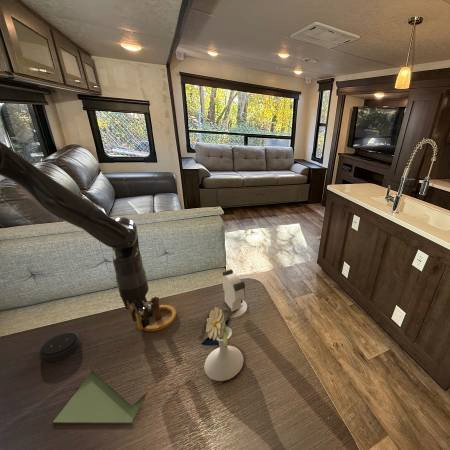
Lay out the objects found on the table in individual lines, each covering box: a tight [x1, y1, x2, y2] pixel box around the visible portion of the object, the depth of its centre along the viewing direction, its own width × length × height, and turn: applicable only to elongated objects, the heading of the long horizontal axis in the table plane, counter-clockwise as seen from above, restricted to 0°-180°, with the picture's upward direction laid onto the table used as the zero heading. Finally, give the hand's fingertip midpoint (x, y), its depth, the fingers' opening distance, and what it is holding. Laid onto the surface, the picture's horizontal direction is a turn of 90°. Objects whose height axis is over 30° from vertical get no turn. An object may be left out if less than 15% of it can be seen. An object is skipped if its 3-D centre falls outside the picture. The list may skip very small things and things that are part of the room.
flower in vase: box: [204, 307, 244, 382], centre depth 70 cm, size 13×11×25 cm
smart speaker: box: [38, 331, 82, 363], centre depth 74 cm, size 9×9×4 cm
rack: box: [148, 295, 172, 326], centre depth 87 cm, size 8×8×11 cm
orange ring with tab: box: [135, 304, 177, 332], centre depth 86 cm, size 11×12×8 cm
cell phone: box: [200, 317, 231, 346], centre depth 88 cm, size 7×14×1 cm, turn 4°
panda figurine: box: [222, 268, 248, 319], centre depth 95 cm, size 12×11×15 cm
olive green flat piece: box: [52, 370, 149, 424], centre depth 65 cm, size 18×13×1 cm
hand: (141, 322), depth 82 cm, fingers open, 4 cm apart
